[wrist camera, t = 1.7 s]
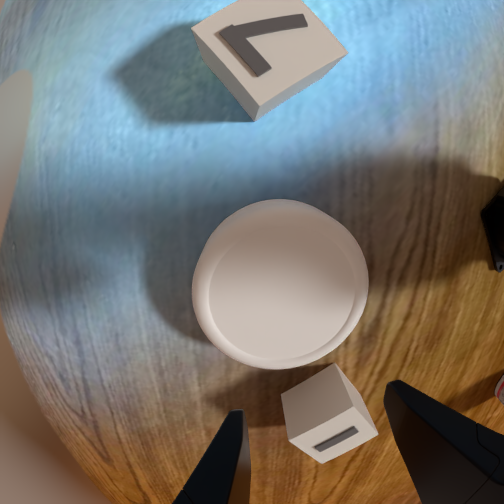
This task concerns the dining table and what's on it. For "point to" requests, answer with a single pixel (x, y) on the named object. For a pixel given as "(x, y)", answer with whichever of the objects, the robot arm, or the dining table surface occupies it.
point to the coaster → (279, 284)
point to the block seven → (266, 51)
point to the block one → (326, 415)
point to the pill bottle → (500, 390)
